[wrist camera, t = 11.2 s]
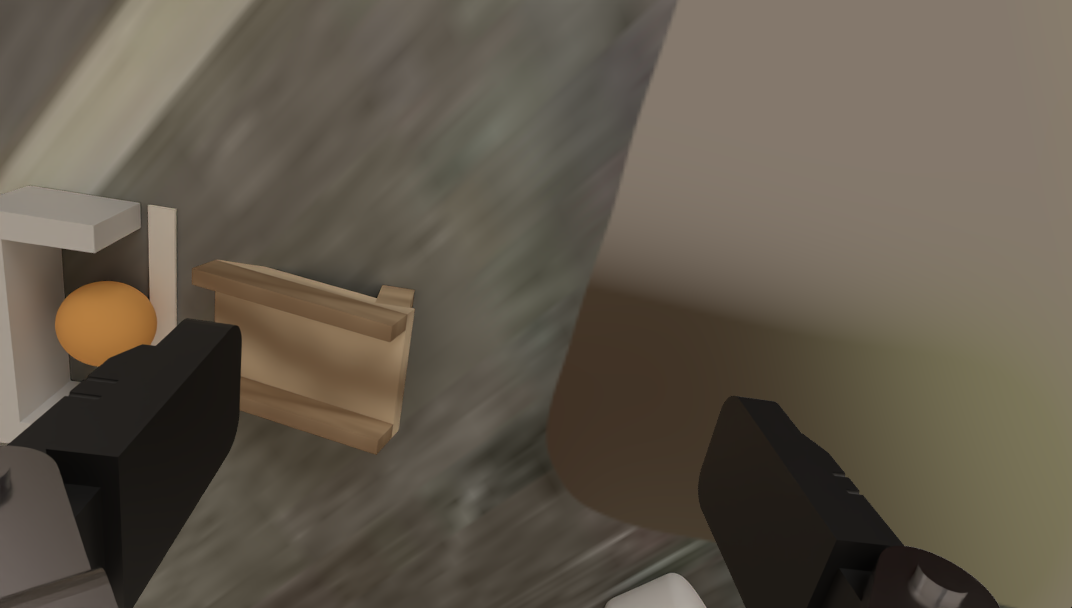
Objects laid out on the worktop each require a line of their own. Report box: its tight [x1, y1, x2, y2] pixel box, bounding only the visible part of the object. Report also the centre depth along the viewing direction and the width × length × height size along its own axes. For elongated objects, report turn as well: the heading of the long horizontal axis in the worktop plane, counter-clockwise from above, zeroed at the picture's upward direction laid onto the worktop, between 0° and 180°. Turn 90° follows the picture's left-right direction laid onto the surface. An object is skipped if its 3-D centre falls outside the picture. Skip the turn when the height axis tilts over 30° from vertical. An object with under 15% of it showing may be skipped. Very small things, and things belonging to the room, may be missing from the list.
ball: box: [55, 281, 157, 366], centre depth 39 cm, size 5×5×5 cm
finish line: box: [148, 205, 177, 346], centre depth 41 cm, size 14×2×1 cm, turn 169°
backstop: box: [0, 185, 141, 443], centre depth 39 cm, size 14×6×5 cm, turn 169°
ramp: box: [192, 260, 415, 455], centre depth 40 cm, size 8×13×7 cm, turn 79°
